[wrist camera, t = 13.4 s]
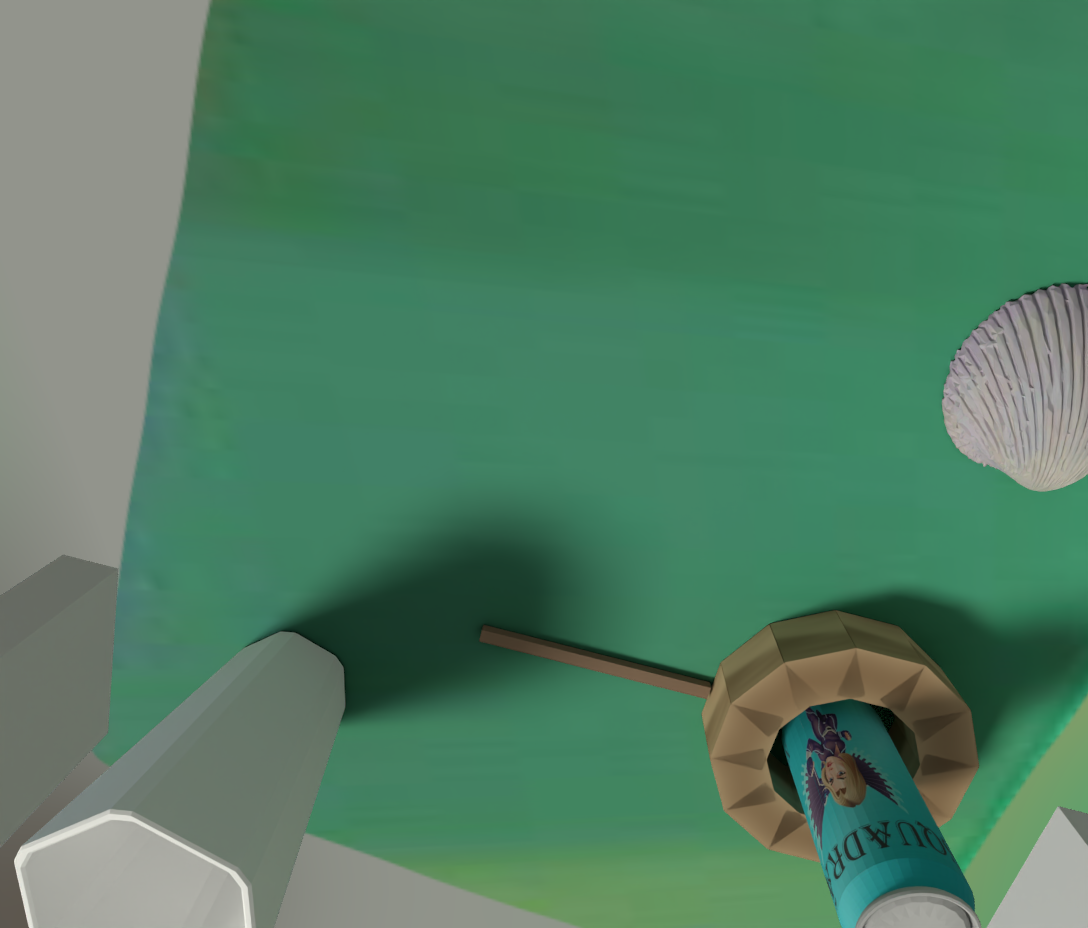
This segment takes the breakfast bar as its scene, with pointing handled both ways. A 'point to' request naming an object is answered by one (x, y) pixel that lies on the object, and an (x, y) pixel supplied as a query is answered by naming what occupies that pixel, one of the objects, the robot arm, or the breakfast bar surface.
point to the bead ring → (822, 677)
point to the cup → (197, 804)
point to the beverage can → (872, 824)
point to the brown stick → (595, 661)
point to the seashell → (1025, 389)
